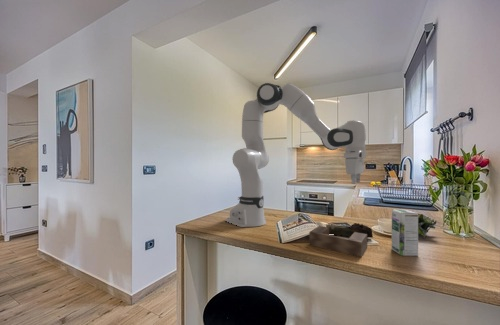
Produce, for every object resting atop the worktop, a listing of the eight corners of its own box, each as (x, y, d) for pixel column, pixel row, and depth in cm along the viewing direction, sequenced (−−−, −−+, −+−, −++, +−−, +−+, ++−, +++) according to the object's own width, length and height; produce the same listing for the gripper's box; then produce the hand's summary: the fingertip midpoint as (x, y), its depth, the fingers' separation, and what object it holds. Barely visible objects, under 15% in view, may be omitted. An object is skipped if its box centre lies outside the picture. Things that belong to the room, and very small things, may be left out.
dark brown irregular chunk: (326, 236, 93) (325, 223, 93) (327, 232, 99) (327, 219, 99) (373, 241, 86) (373, 227, 86) (371, 236, 92) (371, 223, 92)
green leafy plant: (418, 245, 95) (434, 223, 95) (431, 250, 84) (449, 225, 84) (392, 228, 98) (408, 207, 98) (402, 231, 88) (419, 207, 88)
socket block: (309, 245, 83) (309, 232, 83) (319, 237, 91) (319, 225, 91) (361, 257, 72) (361, 242, 72) (367, 247, 79) (367, 234, 79)
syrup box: (390, 249, 78) (390, 209, 78) (407, 249, 78) (407, 209, 78) (401, 256, 72) (400, 212, 72) (419, 256, 72) (418, 212, 72)
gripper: (353, 155, 115) (354, 181, 115) (342, 154, 99) (343, 184, 99) (367, 154, 111) (367, 181, 111) (358, 153, 95) (358, 185, 95)
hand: (355, 183), depth 105 cm, fingers open, 6 cm apart
